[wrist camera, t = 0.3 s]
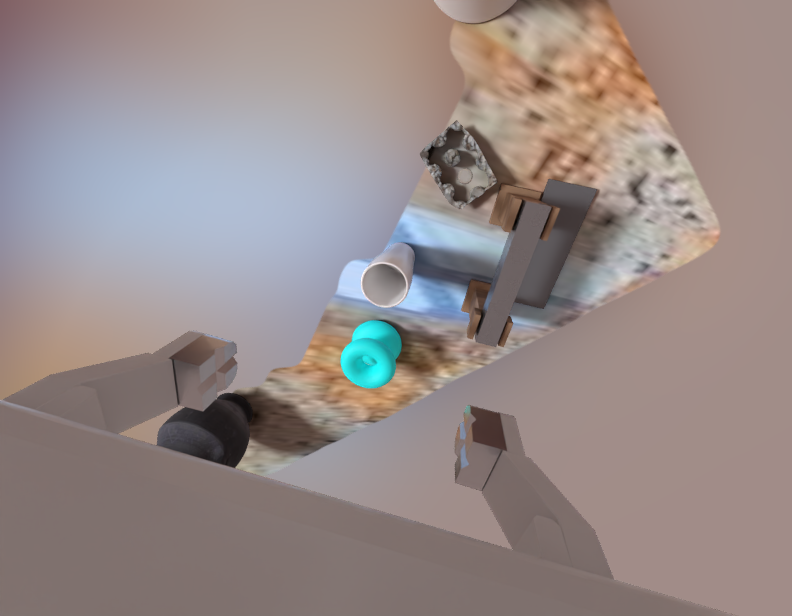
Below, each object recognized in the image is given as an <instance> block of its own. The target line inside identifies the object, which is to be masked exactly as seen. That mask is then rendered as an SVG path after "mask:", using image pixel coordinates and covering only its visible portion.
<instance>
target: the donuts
mask: <svg viewBox="0 0 792 616" xmlns="http://www.w3.org/2000/svg"><path fill="white" fill-rule="evenodd" d="M401 348H402V343H401V338H400V336H399V334H398V332H397V331H396V330H395V328H393V327H392V326H391V325H389V324H388V323H386V322H383V321H378V320H371V321H367V322H364V323H362V324H361V325H359V326H358V327H357V328H356V330H355V331H354V333H353V336H352V342H351V343H349V344H348V345H347V346H346V347H345V349H344V350H343V352H342V355H341V367H342V370H343V372H344V374H345V375H346V377H347V378H348V379H349V380H350V381H351V382H353V383H354V384H356V385H358V386H361V387H364V388H378V387H381V386H383V385H385V384H387V383H388V382H389V381H390V380H391V379H392V377H393V376H394V373H395V370H396V361H395V360H396V359H397V357H398V356H399V354H400V352H401ZM366 363H367V364H369V365H367V364H366Z"/></svg>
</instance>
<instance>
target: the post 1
mask: <svg viewBox="0 0 792 616" xmlns="http://www.w3.org/2000/svg"><path fill="white" fill-rule="evenodd" d="M490 287H491V284H490V283H485V282H481V281H477V280H473V279H471V280H470V283H469V286H468V290H467V293H466V296H465V299H464V302H463V305H462V308H461V311H463V312H467V313H469V317H470V322H469V325H468V328H467V338H470V339H473V337H474V334H475V332H476V329H477V326H478V323H479V320H480V317H481V312H482V309H483V306H484V304H485V301H486V298H487V295H488V292H489V289H490ZM512 325H513V322H512V319H511V317H510V316H508V318H507V321H506V323H505V326H504V328H503V331H502V333H501V336H500V338H499V341H498V346H501V347H504V345H505V342H506V340H507V337H508V335H509V333H510V330H511V328H512Z"/></svg>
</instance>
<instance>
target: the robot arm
mask: <svg viewBox="0 0 792 616" xmlns="http://www.w3.org/2000/svg"><path fill="white" fill-rule="evenodd" d="M516 1H517V0H434V2H435V3H436V4H437V6H438V7H439V8H440V9H441V10H442V11H443V12H444V13H445V14H447V15H448V16H449V17H451V18H453V19H455V20H457V21H460V22H465V23H480V22H485V21H488V20H491V19H493V18H495V17H497V16H499V15H501V14H502V13H504V12H505V11H506V10H508V9H509V8H510V7H511V6H512V5H513V4H514V3H515V2H516ZM236 353H237V346H236V344H235V343H234V342H232V341H229V340H225V339H222V338H219V337H215V336H212V335H208V334H204V333H201V332H198V331H188V332H187V333H185V334H184V335H182V336H181V337H179V338H177V339H176V340H174V341H172V342H171V343H169V344H168V345H166V346H164V347H163V348H161V349H159V350H158V351H156V352H155V353H153V354H150V353H145V354H141V355H136V356H132V357H127V358H123V359H119V360H114V361H109V362H105V363H100V364H96V365H92V366H87V367H83V368H78V369H74V370H69V371H65V372H60V373H56V374H51V375H49V376H47V377H45V378H43V379H41V380H40V381H37V382H35V383H34V384H32V385H30V386H28V387H26V388H24V389H22V390H20V391H18V392H16V393H14V394H12V395H11V396H9V397H7V398H5V399H3V400H0V616H736V615H733V614H730V613H727V612H723V611H720V610H716V609H713V608H709V607H706V606H702V605H699V604H695V603H692V602H689V601H686V600H682V599H678V598H675V597H672V596H668V595H665V594H662V593H658V592H655V591H651V590H648V589H644V588H641V587H638V586H634V585H631V584H628V583H624V582H621V581H617V580H614V578H613V575H612V573H611V570H610V568H609V565H608V563H607V560H606V558H605V555H604V553H603V550H602V547H601V545H600V542H599V540H598V537H597V535H596V532H595V530H594V529H593V528H592V527H591V526H590V524H589V523H588V522H587V521H586V520H585V519H584V518H583V517H582V515H581V514H580V513H579V512H578V511H577V510H576V509H575V508H574V507H573V506H572V504H571V503H570V502H569V501H568V500H567V499H566V498H565V496H564V495H563V494H562V493H561V492H560V491H559V490H558V489H557V487H556V486H555V485H554V484H553V483H552V482H551V481H550V480H549V478H548V477H547V476H546V475H545V474H544V473H543V472H542V471H541V470H540V469H539V467H538V466H537V465H536V464H535V463H534V462H533V460H532V459H531V458H529V457H526V456H525V452H524V449H523V445H522V441H521V437H520V434H519V430H518V426H517V422H516V418H515V417H514V416H512V415H508V414H503V413H499V412H498V413H497V412H494V411H490V410H486V409H482V408H478V407H474V406H471V405H468V406H467V407H466V409H465V412H464V421H463V422H462V423H460V424H459V427H458V430H457V434H456V438H455V454H456V455H457V456H458V458H457V460H456V463H455V483H457V484H460V485H464V486H467V487H470V488H473V489H476V490H480V491H482V494H483V496H484V498H485V499H486V501H487V503H488V505H489V507H490V508H491V510H492V512H493V514H494V516H495V518H496V520H497V521H498V523H499V525H500V527H501V528H502V531H503V532H504V534H505V536H506V538H507V540H508V542H509V543H510V545H511V547H512V549H513V550H512V549H508V548H505V547H501V546H498V545H494V544H491V543H488V542H484V541H480V540H477V539H474V538H471V537H467V536H464V535H460V534H457V533H454V532H450V531H446V530H443V529H440V528H436V527H433V526H429V525H426V524H423V523H419V522H416V521H413V520H409V519H406V518H403V517H399V516H396V515H392V514H389V513H385V512H382V511H379V510H375V509H372V508H368V507H365V506H361V505H358V504H355V503H351V502H348V501H345V500H341V499H338V498H334V497H331V496H327V495H324V494H321V493H317V492H314V491H311V490H307V489H304V488H300V487H297V486H294V485H290V484H286V483H283V482H280V481H276V480H273V479H270V478H266V477H263V476H259V475H256V474H253V473H249V472H246V471H242V470H239V469H236V468H232V467H229V466H225V465H222V464H218V463H215V462H212V461H208V460H205V459H201V458H198V457H195V456H191V455H188V454H184V453H181V452H178V451H174V450H171V449H167V448H164V447H160V446H157V445H153V444H150V443H147V442H143V441H140V440H136V439H133V438H130V437H126V436H123V435H120V434H119V433H121V432H123V431H125V430H127V429H129V428H132V427H134V426H136V425H138V424H141V423H143V422H145V421H147V420H149V419H151V418H154V417H156V416H158V415H160V414H162V413H165V412H167V411H169V410H171V409H174V408H176V407H178V405H180V406H184V407H188V408H192V409H196V410H200V411H204V410H205V409H206V408H207V407H208V406H209V405H210V404H211V403H212V402H213V401H214V400H215V399H216V398H217V392H219V391H222V390H225V389H226V388H227V387H228V386H229V385H230V384H231V383H232V381H233V380H234V378H235V376H236V372H237V362H236V361H235V359H234V357H233V356H234V355H235V354H236Z"/></svg>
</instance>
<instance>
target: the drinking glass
mask: <svg viewBox="0 0 792 616" xmlns="http://www.w3.org/2000/svg"><path fill="white" fill-rule="evenodd" d="M414 262H415V254H414V251H413V249H412V248H411V247H410V246H409V245H407V244H405V243H401V242H398V243H394V244H392V245H391V246H389V247H388V249H386V250H385V251H384V252H382V253H381V254H380V255H378V256H377V257H376V258H374V259H373V260H372V261H371V263H370V264H369V265H368V266H367V268H366V269H365V271H364V272H363V275H362V278H361V288H362V292H363V294H364V295H365V297H366V298H367V299H368V300H369V301H370V302H371V303H373V304H374V305H376V306H379V307H384V308H389V307H394V306H396V305H398V304H400V303H401V302H402V301H403V300H404V299H405V297H406V296H407V294H408V291H409V289H410V286H411V283H412V278H413V267H414Z"/></svg>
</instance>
